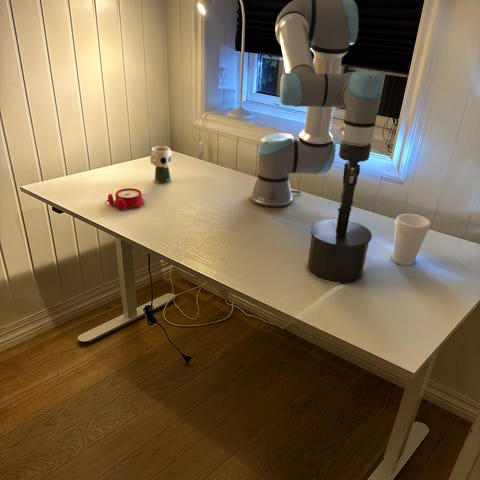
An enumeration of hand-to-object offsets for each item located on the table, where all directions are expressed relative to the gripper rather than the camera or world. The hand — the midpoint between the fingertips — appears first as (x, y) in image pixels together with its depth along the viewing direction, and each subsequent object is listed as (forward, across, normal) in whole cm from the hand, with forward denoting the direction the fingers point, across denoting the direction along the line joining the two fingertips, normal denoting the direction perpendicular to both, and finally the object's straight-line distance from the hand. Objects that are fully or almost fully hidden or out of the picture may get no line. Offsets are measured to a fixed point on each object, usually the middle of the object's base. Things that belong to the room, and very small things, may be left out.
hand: (341, 229), depth 133 cm
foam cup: (+13, -11, +20) cm, 27 cm away
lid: (+1, 0, 0) cm, 1 cm away
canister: (+13, 0, 0) cm, 13 cm away
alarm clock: (+13, -30, -75) cm, 82 cm away
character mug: (+13, -57, -70) cm, 91 cm away
